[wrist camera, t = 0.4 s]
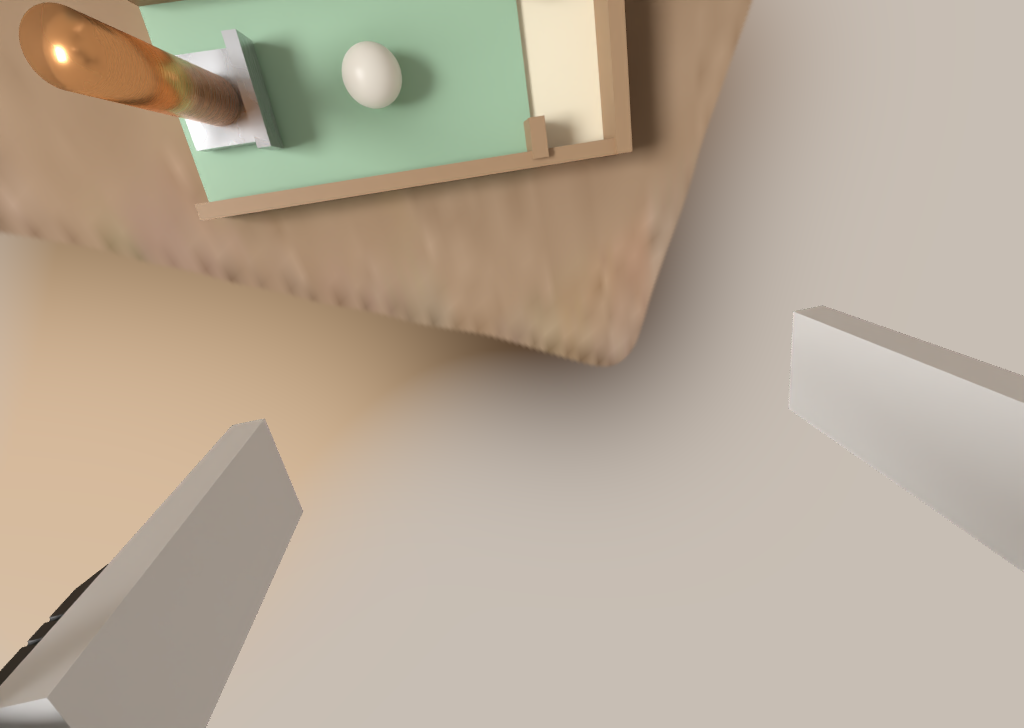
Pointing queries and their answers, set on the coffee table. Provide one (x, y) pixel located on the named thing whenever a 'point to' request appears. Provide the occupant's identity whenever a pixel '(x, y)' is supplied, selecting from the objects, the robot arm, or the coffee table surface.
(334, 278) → the coffee table surface
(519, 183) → the coffee table surface
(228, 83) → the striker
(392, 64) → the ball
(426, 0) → the pitch
